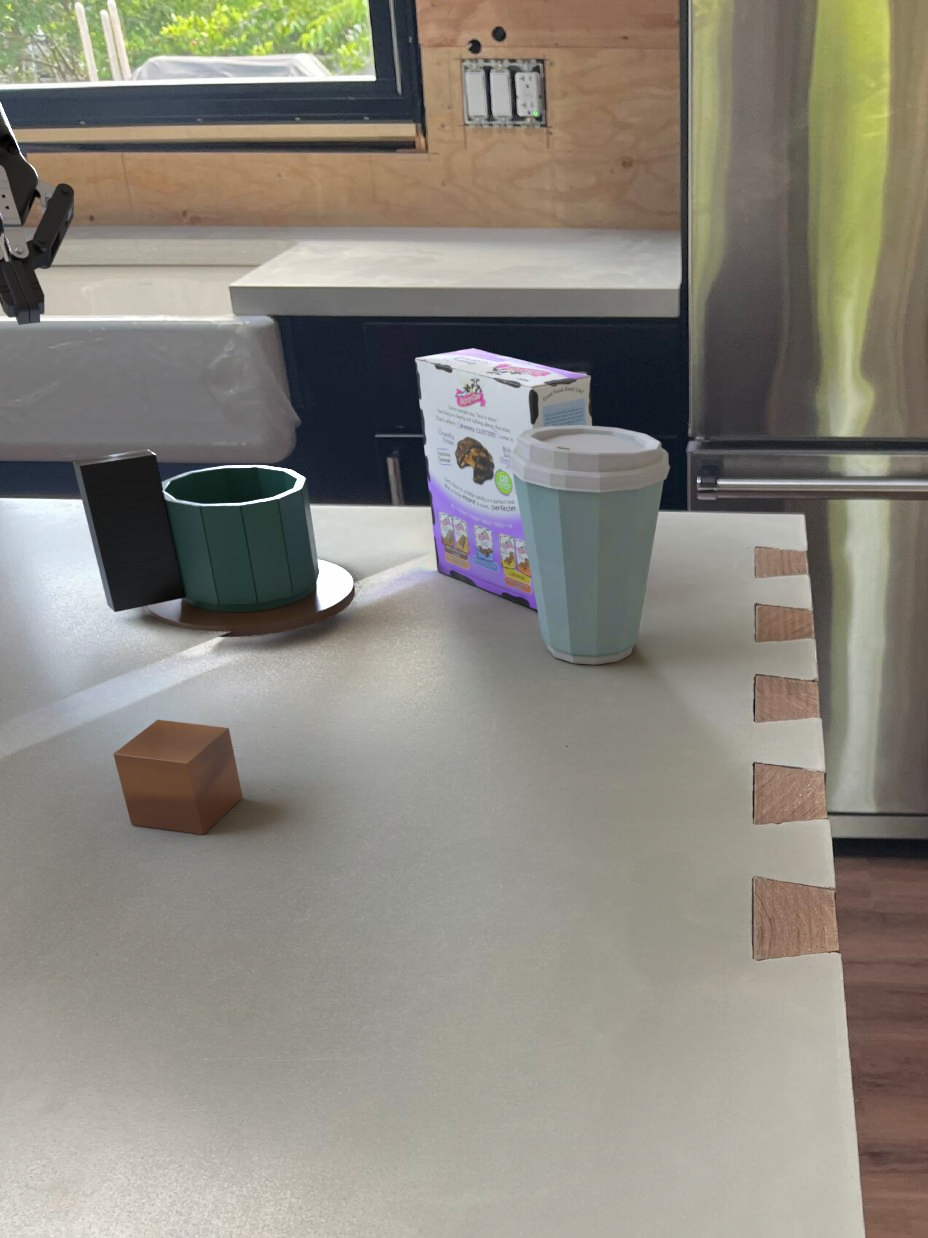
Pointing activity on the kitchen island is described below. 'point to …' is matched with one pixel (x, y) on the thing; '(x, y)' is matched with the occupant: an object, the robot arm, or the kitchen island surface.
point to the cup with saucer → (209, 545)
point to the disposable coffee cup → (589, 533)
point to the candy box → (487, 457)
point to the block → (179, 776)
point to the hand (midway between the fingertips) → (30, 317)
